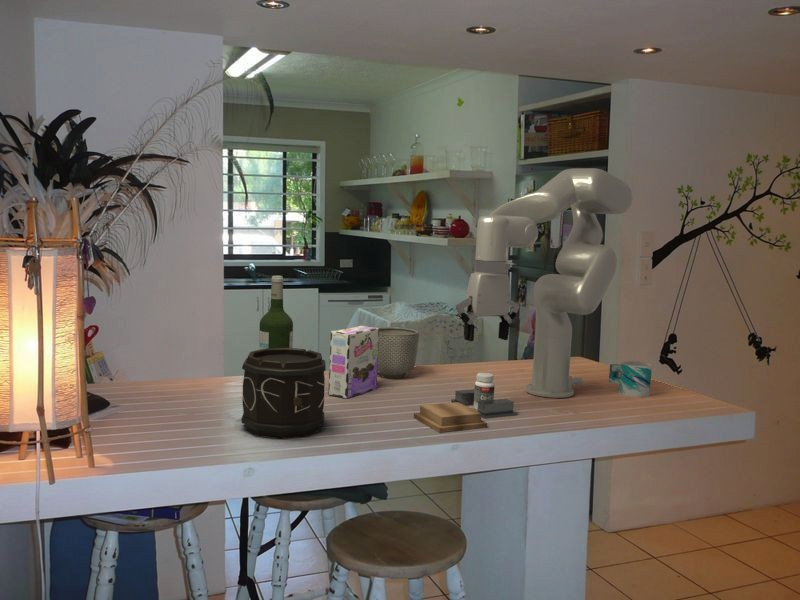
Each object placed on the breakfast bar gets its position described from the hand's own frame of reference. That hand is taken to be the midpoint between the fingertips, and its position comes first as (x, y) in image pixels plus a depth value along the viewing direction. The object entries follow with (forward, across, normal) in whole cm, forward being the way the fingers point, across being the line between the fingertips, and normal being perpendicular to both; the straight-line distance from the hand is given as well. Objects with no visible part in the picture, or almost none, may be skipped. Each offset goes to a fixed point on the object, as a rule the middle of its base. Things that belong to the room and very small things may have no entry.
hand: (486, 339), depth 179 cm
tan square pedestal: (+17, +13, +8) cm, 23 cm away
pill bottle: (+17, -1, 0) cm, 17 cm away
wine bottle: (+18, +44, -23) cm, 53 cm away
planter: (+17, +5, -38) cm, 42 cm away
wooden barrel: (+18, +49, 0) cm, 52 cm away
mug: (+16, -49, -2) cm, 51 cm away
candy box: (+17, +23, -24) cm, 38 cm away
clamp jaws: (+17, -1, 0) cm, 17 cm away
